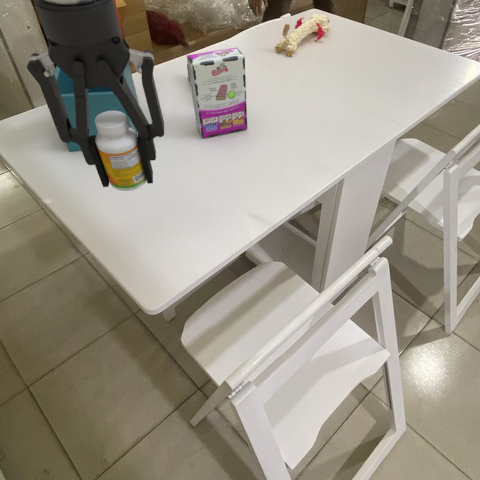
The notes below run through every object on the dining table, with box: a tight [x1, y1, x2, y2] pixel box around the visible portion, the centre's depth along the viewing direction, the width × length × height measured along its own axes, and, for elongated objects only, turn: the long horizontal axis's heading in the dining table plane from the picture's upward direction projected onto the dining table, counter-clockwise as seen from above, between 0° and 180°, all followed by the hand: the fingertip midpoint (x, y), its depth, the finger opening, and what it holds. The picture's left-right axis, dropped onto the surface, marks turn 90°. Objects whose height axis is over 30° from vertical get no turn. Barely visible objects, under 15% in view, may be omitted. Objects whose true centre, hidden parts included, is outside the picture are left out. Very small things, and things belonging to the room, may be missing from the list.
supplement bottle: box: [95, 111, 147, 192], centre depth 55 cm, size 5×5×10 cm
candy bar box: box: [186, 47, 248, 139], centre depth 87 cm, size 11×5×16 cm, turn 114°
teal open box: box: [54, 61, 139, 152], centre depth 88 cm, size 19×14×12 cm
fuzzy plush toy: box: [274, 12, 332, 58], centre depth 123 cm, size 10×9×25 cm
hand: (128, 178), depth 58 cm, fingers closed on supplement bottle, 5 cm apart
